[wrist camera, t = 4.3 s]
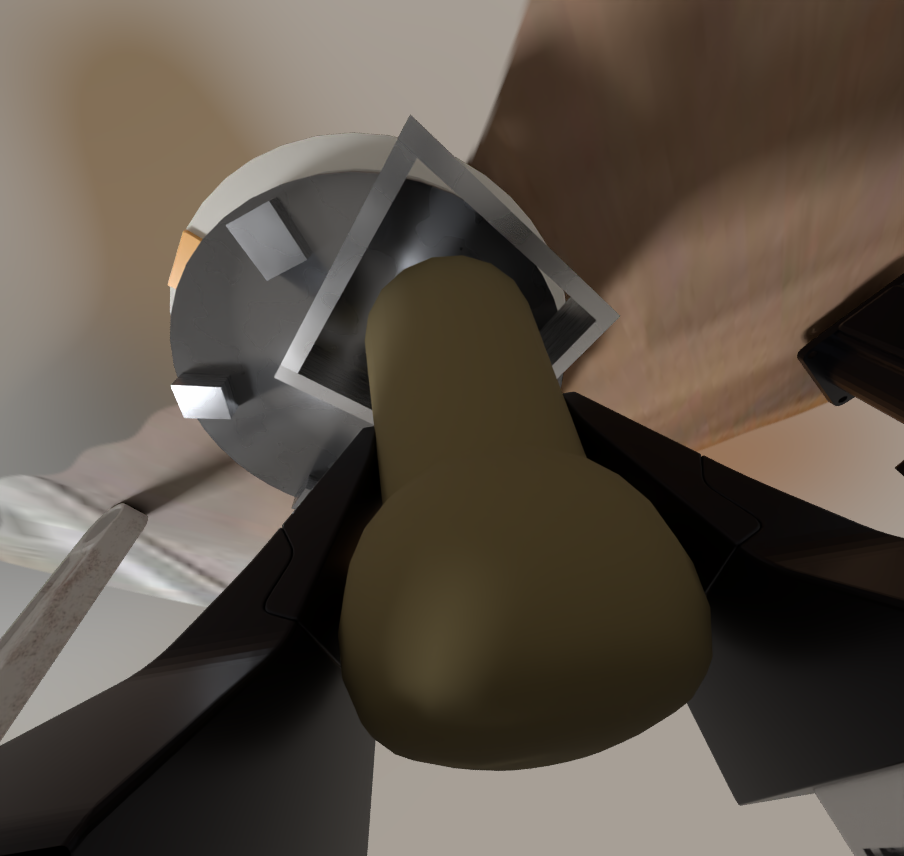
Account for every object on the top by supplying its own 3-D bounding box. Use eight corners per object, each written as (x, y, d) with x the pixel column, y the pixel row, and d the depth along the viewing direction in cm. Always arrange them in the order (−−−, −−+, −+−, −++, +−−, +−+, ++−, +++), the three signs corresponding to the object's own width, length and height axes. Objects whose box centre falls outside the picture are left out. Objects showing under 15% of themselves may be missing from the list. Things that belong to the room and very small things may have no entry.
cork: (344, 387, 13) (239, 819, 5) (399, 218, 10) (380, 614, 2) (484, 430, 15) (586, 787, 7) (567, 301, 12) (952, 668, 4)
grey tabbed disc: (427, 518, 26) (432, 577, 22) (153, 416, 18) (93, 482, 15) (625, 327, 18) (679, 372, 14) (287, 9, 10) (229, -60, 7)
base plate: (633, 319, 19) (645, 329, 18) (430, 515, 28) (431, 529, 27) (273, -34, 11) (259, -53, 10) (140, 406, 19) (125, 421, 18)
